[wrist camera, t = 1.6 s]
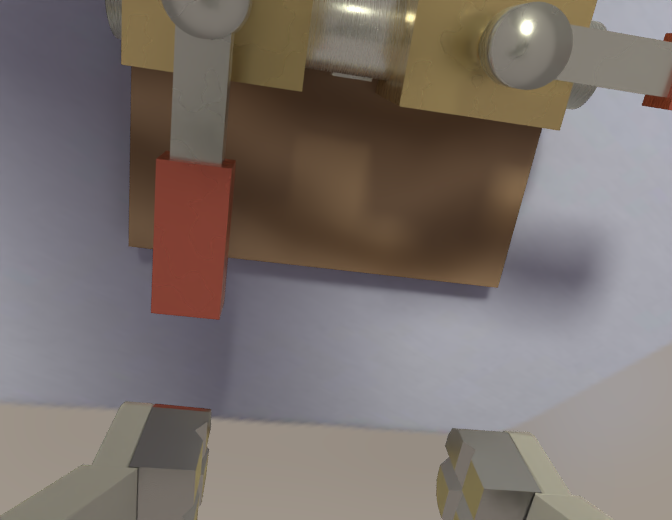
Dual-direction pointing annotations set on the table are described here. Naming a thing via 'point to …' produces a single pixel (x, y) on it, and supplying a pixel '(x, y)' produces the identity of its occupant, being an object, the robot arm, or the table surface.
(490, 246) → the base board
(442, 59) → the pipe manifold
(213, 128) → the valve lever
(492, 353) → the table surface
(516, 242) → the table surface
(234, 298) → the table surface
